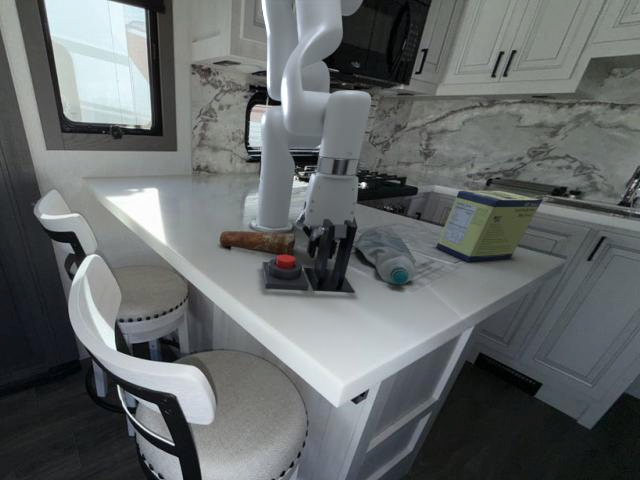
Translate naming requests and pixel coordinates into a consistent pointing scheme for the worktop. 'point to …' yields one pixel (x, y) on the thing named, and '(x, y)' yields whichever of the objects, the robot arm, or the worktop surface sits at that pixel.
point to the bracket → (335, 277)
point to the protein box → (487, 224)
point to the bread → (259, 241)
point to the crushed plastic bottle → (387, 255)
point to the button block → (284, 276)
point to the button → (285, 261)
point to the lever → (336, 233)
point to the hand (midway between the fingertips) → (320, 255)
